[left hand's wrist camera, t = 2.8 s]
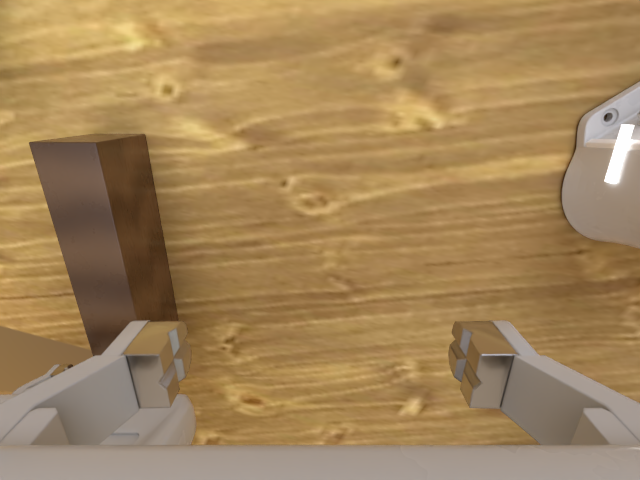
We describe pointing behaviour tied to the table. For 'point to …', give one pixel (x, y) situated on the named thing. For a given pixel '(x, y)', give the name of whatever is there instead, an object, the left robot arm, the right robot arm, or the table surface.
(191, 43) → the table surface
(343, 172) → the table surface
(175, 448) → the left robot arm
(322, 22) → the table surface
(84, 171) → the bar
